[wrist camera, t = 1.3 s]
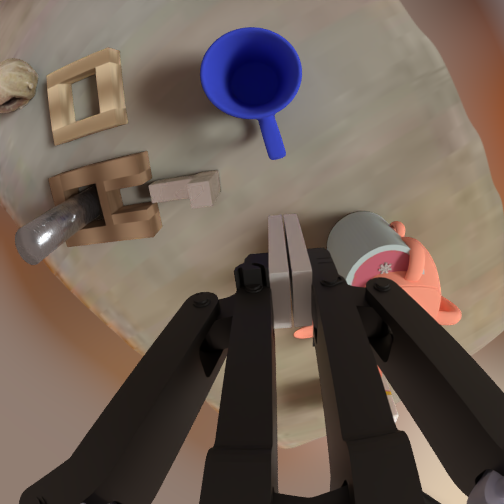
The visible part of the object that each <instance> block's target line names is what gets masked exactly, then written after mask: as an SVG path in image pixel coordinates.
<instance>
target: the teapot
mask: <svg viewBox="0 0 504 504" xmlns="http://www.w3.org/2000/svg"><path fill="white" fill-rule="evenodd" d="M389 226H390V227H391V228H393V229H394V230H395V231H396V232H397V233H398V234H399V235H400V236H401V239H402V240H403V241H404V242H405V243H406V245H407V246H408V247H409V248H410V251H409V255H410V259H409V266H408V270H407V271H396V272H388V273H382V274H378V275H376V276H374V277H373V278H378V277H382V278H383V277H384V278H388V279H391V280H393V281H394V282H396V283H397V284H398V285H399V286H400V287H401V288H402V289H403V290H404V291H406V292H407V293H408V294H409V295H410V296H411V297H412V298H413V299H414V300H415V301H416V302H417V303H418V304H419V305H420V306H421V307H422V308H423V309H425V310H426V311H427V312H428V313H429V314H430V315H431V316H432V317H433V318H434V319H435V320H436V321H437V322H438V323H439V324H440V325H453V324H456V323H458V322H459V321H460V319H461V311H460V310H459V308H458V307H457V306H456V305H454V304H453V303H452V302H451V301H449V300H448V299H446V298H444V297H443V296H441V288H440V282H439V277H438V272H437V268H436V266H435V263H434V261H433V259H432V257H431V255H430V254H429V252H428V251H427V249H426V248H425V247H424V246H423V245H422V244H421V243H420V242H419V241H418V240H416V239H414V238H410V237H404V235H405V226H404V225H403V224H402V223H401V222H398V221H394V222H392V223H391V224H390V225H389ZM423 270H424V274H422V273H423ZM373 278H372V279H373ZM365 287H366V285H365ZM294 337H296V338H310V337H313V320H312V326H304V327H302V328H300V329H298V330H297V331H296V332H294ZM377 366H378V365H377ZM378 369H379V372H380V375H381V377H382V371H381V370H380V368H379V367H378Z"/></svg>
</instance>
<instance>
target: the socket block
mask: <svg viewBox="0 0 504 504" xmlns="http://www.w3.org/2000/svg"><path fill="white" fill-rule="evenodd" d="M150 179H152V174H151V169H150V163H149V157H148V152H147V151H145V152H140V153H135V154H131V155H127V156H122V157H118V158H114V159H110V160H106V161H102V162H98V163H94V164H91V165H87V166H84V167H80V168H77V169H73V170H70V171H66V172H63V173H61V174H58V175H56V176H53V177H51V178H49V179H48V180H49V184H50V188H51V192H52V196H53V200H54V204H55V207H56V206H57V205H59V204H61V203H63V202H64V201H66V200H68V199H70V198H72V197H73V196H75V195H77V194H79V190H78V187H81V186H86V185H90V184H94V183H96V187H97V191H98V195H99V200H100V204H101V208H102V211H103V215H104V219H98V220H92V221H91V222H90V223H88V224H87V225H86V226H84V227H83V228H82V229H80V230H79V231H78V232H76V233H75V234H74V235H73V236H71V237H70V238H69V239H67V240H66V244H67V247H72V246H80V245H88V244H97V243H105V242H114V241H122V240H131V239H140V238H150V237H154V236H155V235H156V233H157V232H158V231H159V230H160V229H161V228H162V222H161V218H160V213H159V209H158V204H157V203H152V202H146V203H139V204H133V205H127V206H123V202H122V198H121V194H120V189H121V188H127V187H132V186H137V185H142V184H144V183H145V182H147V181H148V180H150Z"/></svg>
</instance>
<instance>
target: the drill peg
mask: <svg viewBox="0 0 504 504" xmlns="http://www.w3.org/2000/svg"><path fill="white" fill-rule="evenodd" d="M102 213H103V211H102V208H101V204H100V200H99V195H98V191H97V187H96V186H92V187H90V188H88V189H86V190H85V191H83V192H81V193H79V194H77V195H75V196H73V197H72V198H70V199H68V200H66V201H64V202H63V203H61V204H59V205H57V206H56V207H54V208H52V209H51V210H49V211H47V212H45V213H44V214H42V215H41V216H39V217H37V218H36V219H34V220H32V221H31V222H29V223H28V224H26V225H24V226H23V227H21V228H20V229H18V231H17V232H16V235H15V243H16V247H17V250H18V252H19V254H20V256H21V257H22V258H23V260H25V261H26V262H27V263H29V264H31V265H36V264H38V263H39V262H40V261H42V260H43V259H44V258H45V257H46V256H48V255H49V254H50V253H51V252H52V251H54V250H55V249H56V248H57V247H59V246H60V245H61V244H62V243H64V242H65V241H66V240H67V239H69V238H70V237H71V236H73V235H74V234H75V233H76V232H78V231H79V230H80V229H82V228H83V227H84V226H86V225H87V224H88V223H90V222H91V221H92V220H94V219H95V218H97V217H98V216H99V215H101V214H102Z"/></svg>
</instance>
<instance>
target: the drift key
mask: <svg viewBox="0 0 504 504" xmlns="http://www.w3.org/2000/svg"><path fill="white" fill-rule="evenodd" d="M148 186H149V190H150V195H151V200H152V203H157V202H164V201H171V200H179V199H187V198H190V202H191V208H199V207H208V206H213V204H214V203H215V201H216V199H217V197H218V196H219V194H220V192H221V187H220V180H219V173H218V170H214V171H207V172H200V173H199V174H197V175H190V176H183V177H176V178H170V179H163V180H157V181H154V182H153V183H151V184H150V185H148Z"/></svg>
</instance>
